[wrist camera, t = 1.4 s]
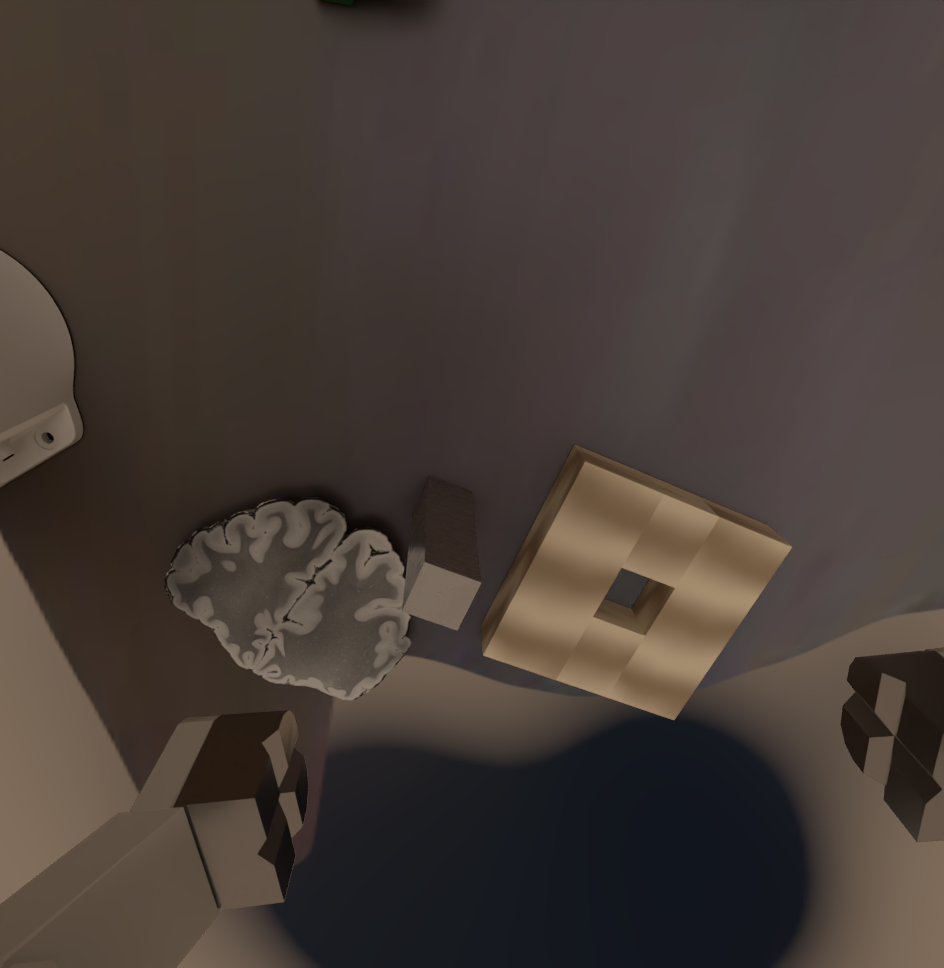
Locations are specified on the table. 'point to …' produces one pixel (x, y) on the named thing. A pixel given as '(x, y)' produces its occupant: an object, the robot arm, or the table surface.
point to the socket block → (643, 550)
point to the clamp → (342, 1)
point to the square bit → (442, 555)
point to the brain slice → (297, 595)
